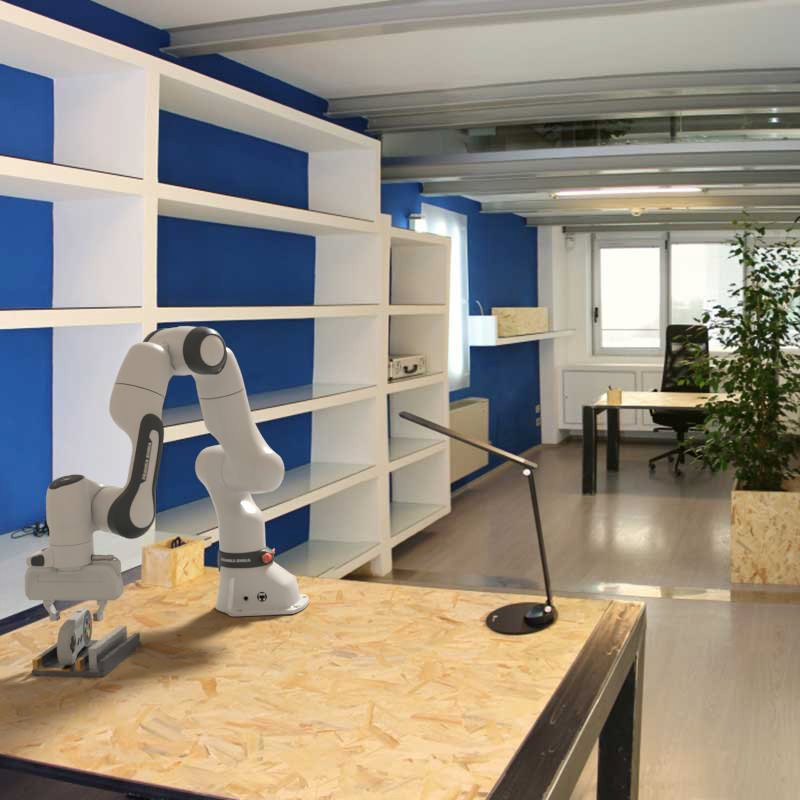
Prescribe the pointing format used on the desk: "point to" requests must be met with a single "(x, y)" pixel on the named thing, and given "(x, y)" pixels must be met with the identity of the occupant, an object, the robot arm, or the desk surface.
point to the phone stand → (90, 656)
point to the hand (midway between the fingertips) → (76, 620)
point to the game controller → (74, 636)
